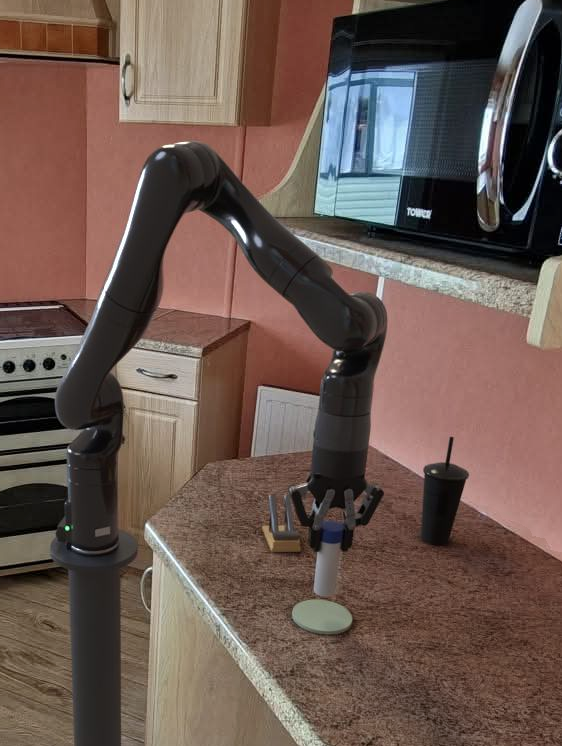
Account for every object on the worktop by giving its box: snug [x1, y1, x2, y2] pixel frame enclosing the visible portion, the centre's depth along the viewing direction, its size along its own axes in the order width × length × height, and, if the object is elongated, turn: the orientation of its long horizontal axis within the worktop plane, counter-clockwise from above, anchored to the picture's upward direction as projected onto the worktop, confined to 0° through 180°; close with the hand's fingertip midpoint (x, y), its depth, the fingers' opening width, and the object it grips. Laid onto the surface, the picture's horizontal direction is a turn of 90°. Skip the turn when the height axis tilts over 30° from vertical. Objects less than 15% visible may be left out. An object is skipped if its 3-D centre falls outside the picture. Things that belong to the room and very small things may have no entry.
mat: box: [291, 598, 353, 635], centre depth 121 cm, size 9×9×1 cm
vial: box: [313, 520, 344, 598], centre depth 118 cm, size 10×4×10 cm
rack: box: [261, 493, 302, 553], centre depth 144 cm, size 9×5×8 cm, turn 2°
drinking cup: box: [420, 436, 470, 546], centre depth 142 cm, size 8×8×20 cm
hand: (329, 549), depth 117 cm, fingers closed on vial, 3 cm apart
